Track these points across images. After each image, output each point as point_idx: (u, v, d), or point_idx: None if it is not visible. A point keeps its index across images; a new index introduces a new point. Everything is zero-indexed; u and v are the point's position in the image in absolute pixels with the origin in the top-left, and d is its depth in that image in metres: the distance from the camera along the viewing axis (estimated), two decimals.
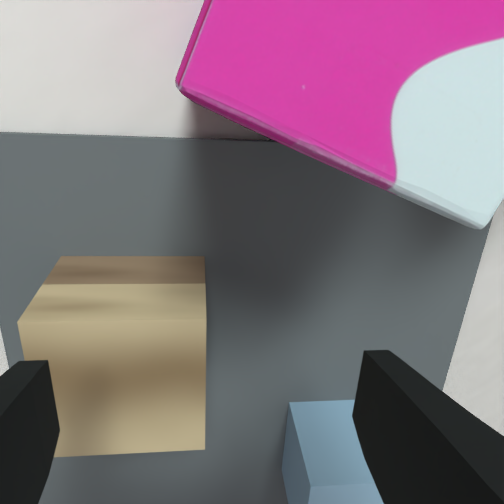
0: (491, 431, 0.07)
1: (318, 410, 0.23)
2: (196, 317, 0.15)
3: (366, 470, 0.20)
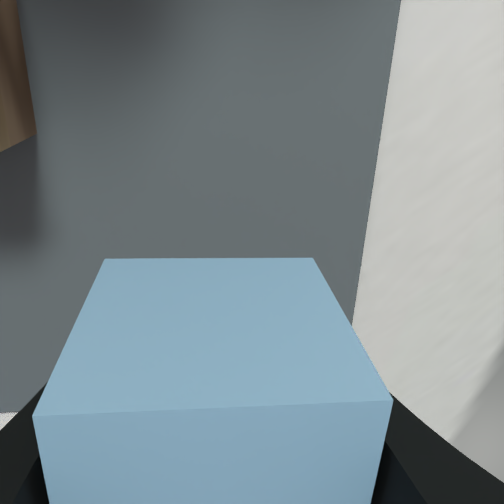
0: (433, 434, 0.07)
1: (164, 270, 0.10)
2: None
3: (230, 377, 0.07)
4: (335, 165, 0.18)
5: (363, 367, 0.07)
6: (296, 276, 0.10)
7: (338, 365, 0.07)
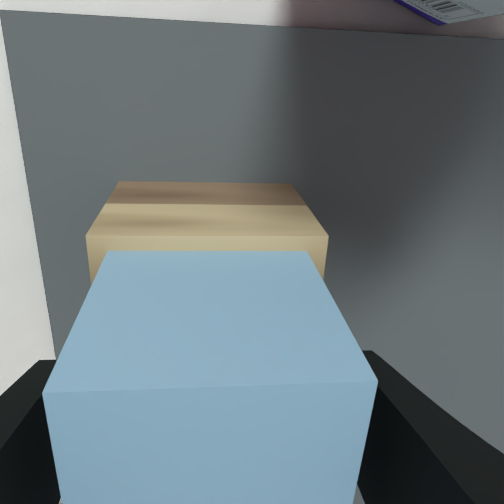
0: (468, 432, 0.07)
1: (164, 262, 0.10)
2: (314, 234, 0.11)
3: (226, 360, 0.07)
4: None
5: (351, 351, 0.08)
6: (290, 268, 0.10)
7: (328, 349, 0.08)
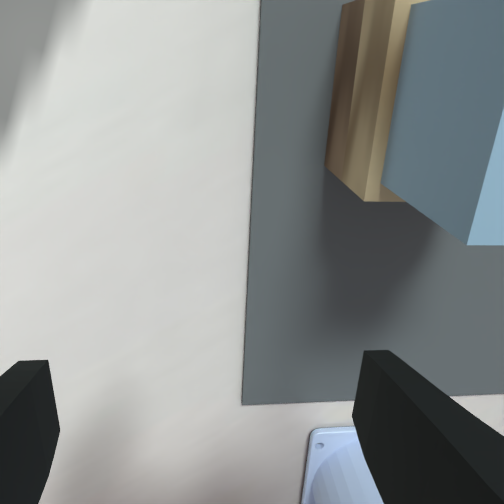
0: (491, 431, 0.07)
1: None
2: None
3: None
4: None
5: None
6: None
7: None
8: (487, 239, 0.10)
